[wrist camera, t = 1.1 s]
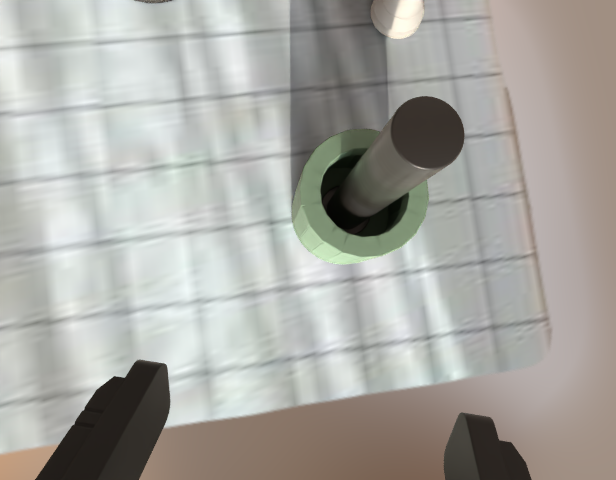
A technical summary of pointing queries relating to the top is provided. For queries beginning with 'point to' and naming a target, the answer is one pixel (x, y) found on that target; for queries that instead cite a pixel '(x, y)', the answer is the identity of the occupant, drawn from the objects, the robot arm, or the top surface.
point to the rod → (397, 161)
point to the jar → (382, 226)
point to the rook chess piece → (397, 16)
